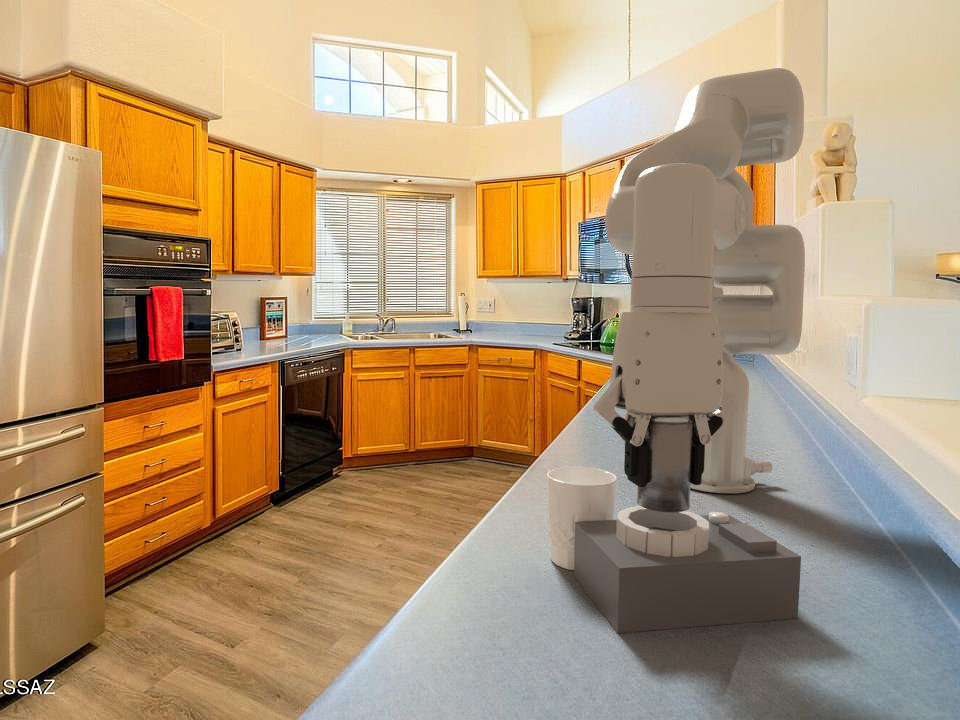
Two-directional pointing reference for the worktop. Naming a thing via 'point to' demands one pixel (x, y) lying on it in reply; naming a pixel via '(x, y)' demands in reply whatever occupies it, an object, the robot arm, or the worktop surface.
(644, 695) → the worktop surface
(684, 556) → the camera body
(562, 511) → the white cup
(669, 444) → the shiny metal cylinder
